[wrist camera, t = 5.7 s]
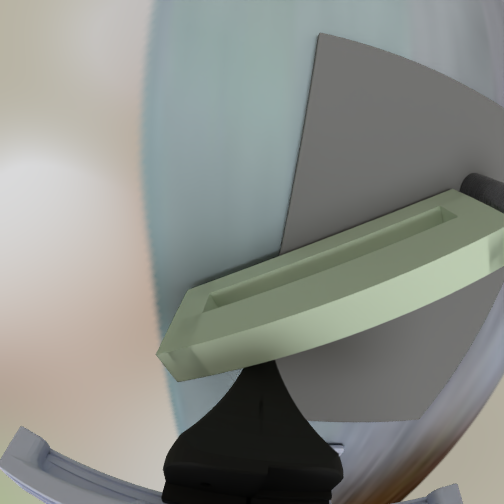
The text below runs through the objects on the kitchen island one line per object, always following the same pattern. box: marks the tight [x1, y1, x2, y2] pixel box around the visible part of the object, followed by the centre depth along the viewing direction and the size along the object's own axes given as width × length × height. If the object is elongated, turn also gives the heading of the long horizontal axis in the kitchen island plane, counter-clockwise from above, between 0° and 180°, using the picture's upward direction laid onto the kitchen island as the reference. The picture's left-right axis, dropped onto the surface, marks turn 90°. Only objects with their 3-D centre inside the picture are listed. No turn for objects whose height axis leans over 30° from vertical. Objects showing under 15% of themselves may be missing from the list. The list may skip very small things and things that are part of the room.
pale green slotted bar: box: [156, 189, 504, 382], centre depth 11 cm, size 14×2×5 cm, turn 114°
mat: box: [275, 33, 504, 422], centre depth 14 cm, size 22×14×1 cm, turn 171°
